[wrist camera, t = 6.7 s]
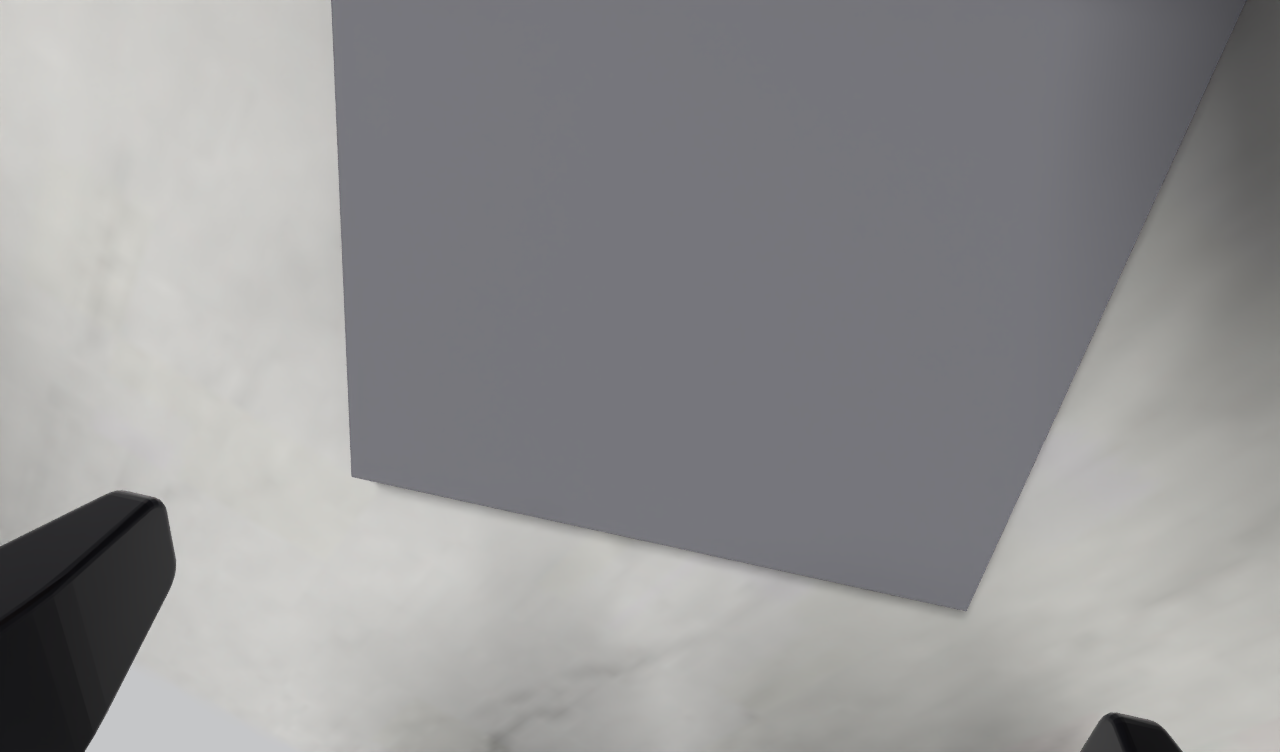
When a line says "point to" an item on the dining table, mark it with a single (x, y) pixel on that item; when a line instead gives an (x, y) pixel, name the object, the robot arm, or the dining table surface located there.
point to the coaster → (746, 258)
